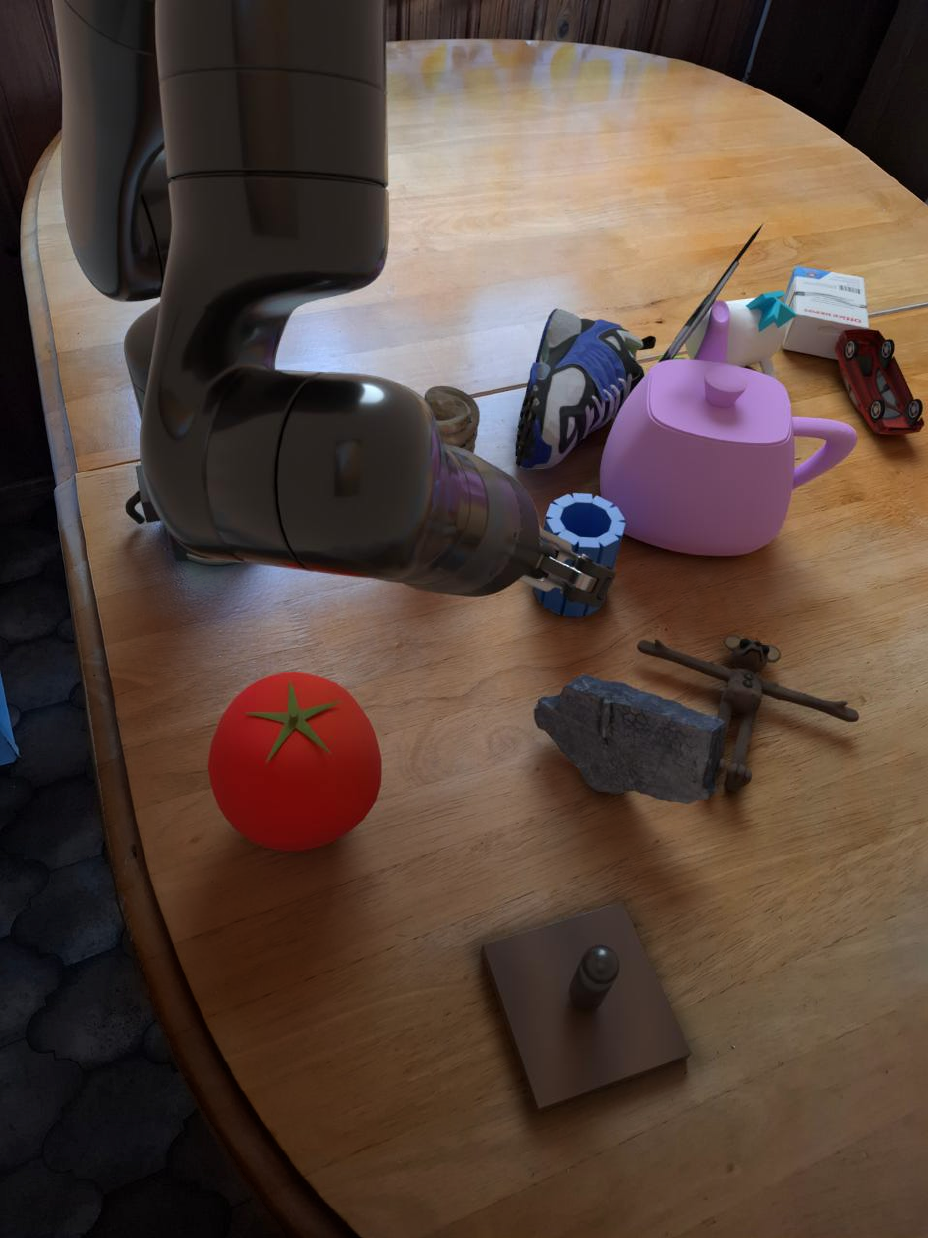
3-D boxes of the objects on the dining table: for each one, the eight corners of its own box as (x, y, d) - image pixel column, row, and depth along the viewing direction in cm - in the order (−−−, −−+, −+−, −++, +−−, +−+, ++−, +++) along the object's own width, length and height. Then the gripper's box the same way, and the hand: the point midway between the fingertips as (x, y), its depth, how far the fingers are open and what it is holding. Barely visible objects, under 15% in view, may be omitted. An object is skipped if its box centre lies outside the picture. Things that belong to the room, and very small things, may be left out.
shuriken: (589, 477, 89) (715, 308, 73) (580, 471, 89) (704, 300, 73) (659, 372, 105) (775, 213, 89) (652, 366, 105) (767, 207, 89)
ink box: (781, 300, 115) (780, 350, 108) (795, 263, 111) (795, 313, 104) (849, 313, 114) (853, 365, 107) (865, 277, 111) (870, 327, 103)
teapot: (817, 593, 82) (887, 463, 70) (585, 551, 83) (617, 417, 72) (803, 438, 97) (859, 310, 85) (606, 404, 98) (635, 274, 87)
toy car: (838, 320, 101) (819, 353, 105) (889, 424, 94) (867, 455, 98) (883, 317, 102) (863, 350, 106) (938, 420, 95) (913, 450, 99)
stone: (512, 771, 68) (529, 693, 61) (537, 710, 72) (555, 629, 64) (694, 837, 66) (735, 764, 58) (709, 770, 69) (750, 693, 62)
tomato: (195, 792, 65) (162, 687, 55) (327, 722, 70) (317, 613, 60) (272, 919, 60) (251, 826, 50) (409, 833, 64) (414, 733, 55)
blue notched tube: (550, 624, 78) (565, 554, 71) (523, 569, 82) (535, 499, 75) (617, 609, 79) (638, 540, 73) (588, 557, 83) (605, 486, 77)
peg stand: (535, 1114, 53) (555, 1078, 47) (480, 951, 59) (491, 900, 53) (687, 1059, 56) (724, 1019, 50) (619, 908, 62) (645, 855, 56)
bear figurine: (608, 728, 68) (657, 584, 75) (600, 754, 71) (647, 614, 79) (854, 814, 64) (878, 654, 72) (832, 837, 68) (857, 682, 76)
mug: (730, 277, 92) (781, 272, 100) (662, 330, 98) (715, 321, 106) (785, 379, 91) (832, 366, 99) (713, 425, 98) (763, 409, 106)
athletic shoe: (513, 411, 80) (648, 441, 79) (556, 281, 98) (666, 304, 97) (498, 498, 87) (622, 526, 86) (540, 361, 105) (643, 383, 104)
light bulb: (462, 556, 82) (474, 422, 71) (403, 545, 83) (405, 410, 71) (473, 515, 86) (487, 381, 74) (417, 504, 86) (422, 369, 75)
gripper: (602, 512, 46) (646, 542, 61) (369, 407, 50) (465, 460, 65) (537, 646, 47) (597, 643, 62) (315, 532, 51) (422, 555, 66)
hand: (529, 549), depth 64 cm, fingers open, 8 cm apart
